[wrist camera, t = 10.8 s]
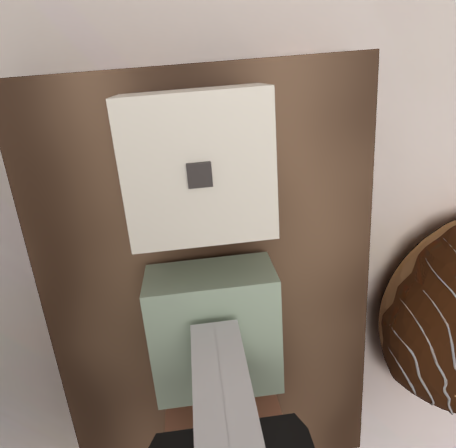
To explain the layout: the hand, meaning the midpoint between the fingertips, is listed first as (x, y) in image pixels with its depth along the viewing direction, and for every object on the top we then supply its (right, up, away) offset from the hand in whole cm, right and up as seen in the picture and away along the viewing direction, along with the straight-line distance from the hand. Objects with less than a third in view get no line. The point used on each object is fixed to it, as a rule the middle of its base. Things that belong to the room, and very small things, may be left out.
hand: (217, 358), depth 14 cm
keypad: (-1, +2, +6) cm, 6 cm away
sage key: (0, +1, +3) cm, 3 cm away
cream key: (-1, +7, +1) cm, 7 cm away
